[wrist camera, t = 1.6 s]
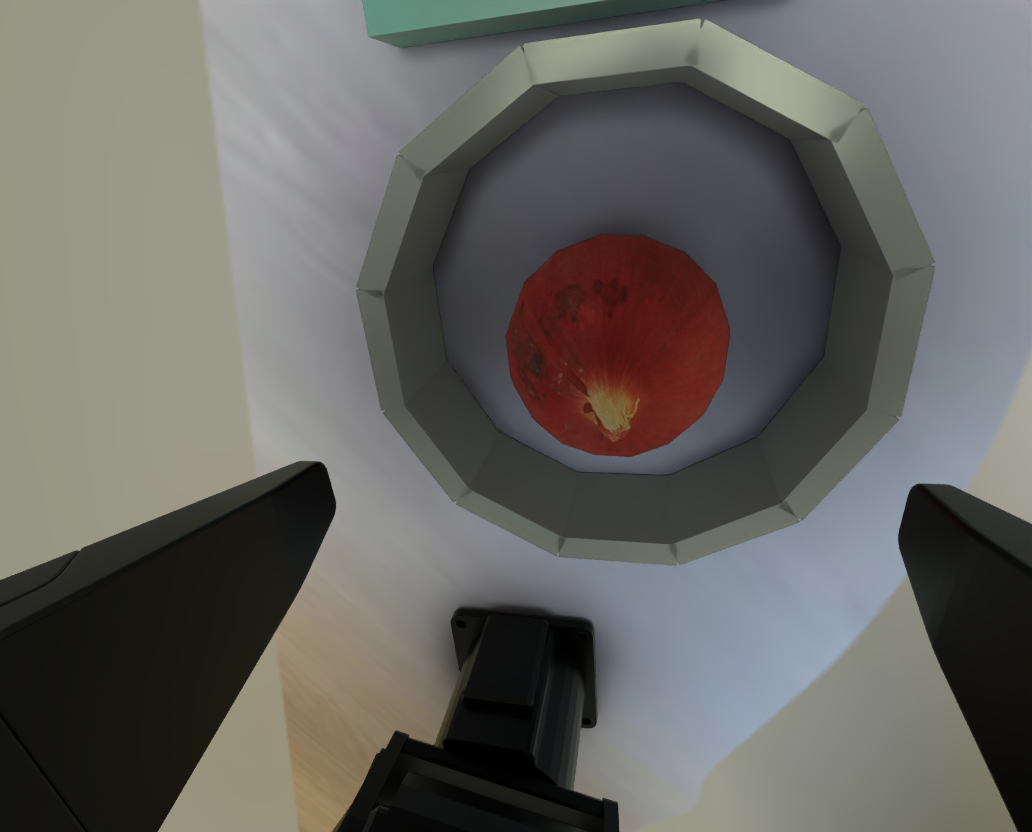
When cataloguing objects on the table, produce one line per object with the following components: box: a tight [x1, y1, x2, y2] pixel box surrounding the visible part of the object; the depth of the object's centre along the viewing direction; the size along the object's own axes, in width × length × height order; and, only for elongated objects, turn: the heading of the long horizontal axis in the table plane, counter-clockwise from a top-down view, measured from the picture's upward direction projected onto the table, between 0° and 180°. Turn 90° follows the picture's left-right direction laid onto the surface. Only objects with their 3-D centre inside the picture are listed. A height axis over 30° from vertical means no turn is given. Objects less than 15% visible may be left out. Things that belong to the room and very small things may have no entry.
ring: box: [356, 18, 935, 565], centre depth 17 cm, size 14×14×4 cm
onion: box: [505, 234, 730, 457], centre depth 15 cm, size 6×6×8 cm
